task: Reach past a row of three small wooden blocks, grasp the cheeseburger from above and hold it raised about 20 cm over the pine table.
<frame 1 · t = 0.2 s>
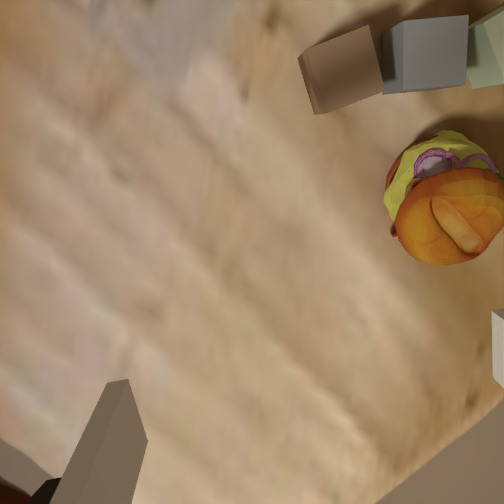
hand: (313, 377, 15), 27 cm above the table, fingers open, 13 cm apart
walnut block: (332, 76, 38), on the table
slate block: (409, 62, 38), on the table
sage block: (487, 47, 38), on the table
cheeseburger: (428, 191, 42), on the table
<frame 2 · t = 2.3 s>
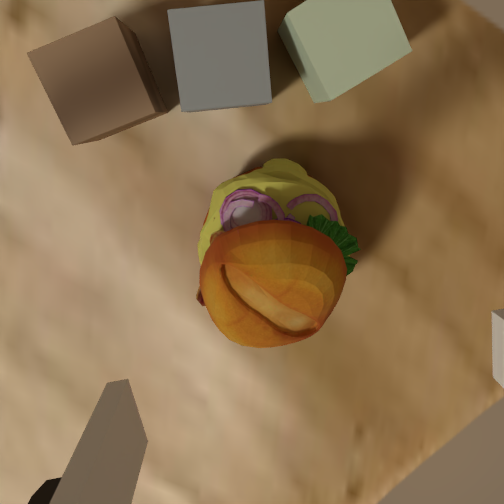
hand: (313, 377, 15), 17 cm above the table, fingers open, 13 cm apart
walnut block: (116, 88, 28), on the table
slate block: (222, 67, 27), on the table
sage block: (330, 46, 27), on the table
cheeseburger: (270, 237, 31), on the table
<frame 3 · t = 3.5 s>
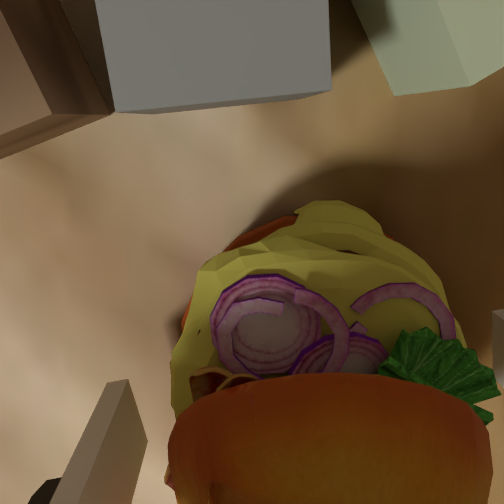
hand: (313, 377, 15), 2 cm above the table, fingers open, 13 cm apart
walnut block: (7, 67, 14), on the table
slate block: (217, 25, 14), on the table
cheeseburger: (303, 334, 18), on the table
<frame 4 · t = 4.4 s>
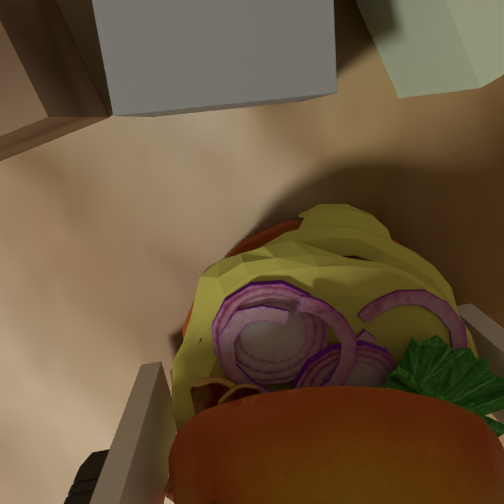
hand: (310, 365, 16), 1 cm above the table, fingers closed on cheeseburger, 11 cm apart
walnut block: (3, 69, 14), on the table
slate block: (218, 26, 14), on the table
cheeseburger: (307, 340, 17), on the table, touching gripper
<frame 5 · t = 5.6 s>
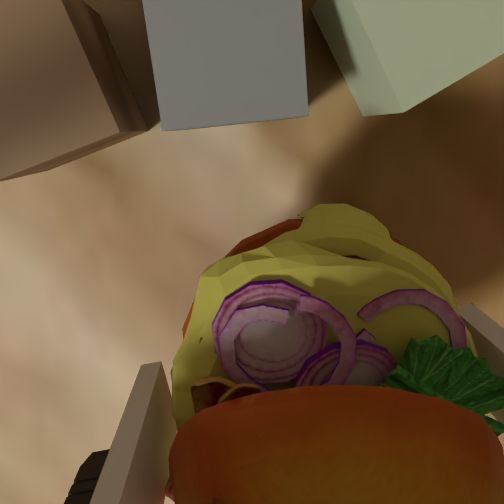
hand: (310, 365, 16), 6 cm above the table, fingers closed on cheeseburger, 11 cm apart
walnut block: (73, 95, 19), on the table
slate block: (229, 64, 19), on the table
sage block: (388, 33, 18), on the table
cheeseburger: (307, 340, 17), point 5 cm above the table, touching gripper
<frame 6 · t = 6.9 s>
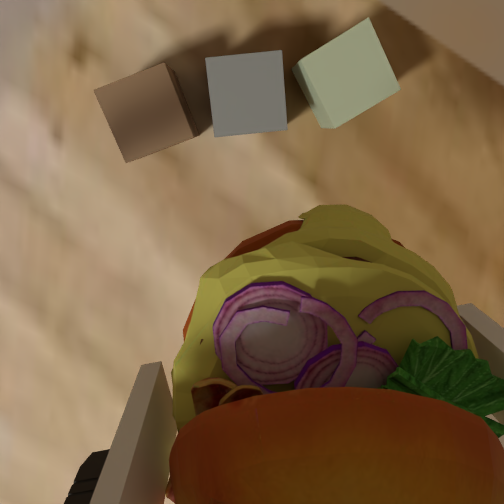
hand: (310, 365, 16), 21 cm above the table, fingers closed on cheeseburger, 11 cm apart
walnut block: (157, 115, 33), on the table
slate block: (245, 98, 33), on the table
sage block: (334, 81, 33), on the table
cheeseburger: (308, 341, 17), point 20 cm above the table, touching gripper
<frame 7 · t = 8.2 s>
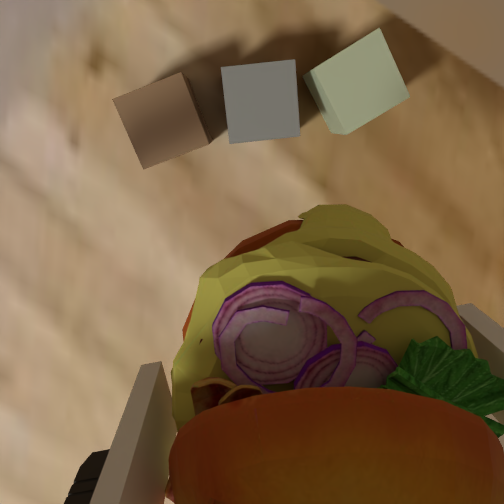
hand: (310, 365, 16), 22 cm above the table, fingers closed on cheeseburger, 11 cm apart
walnut block: (171, 122, 34), on the table
slate block: (257, 105, 34), on the table
sage block: (344, 88, 34), on the table
cheeseburger: (307, 341, 17), point 21 cm above the table, touching gripper
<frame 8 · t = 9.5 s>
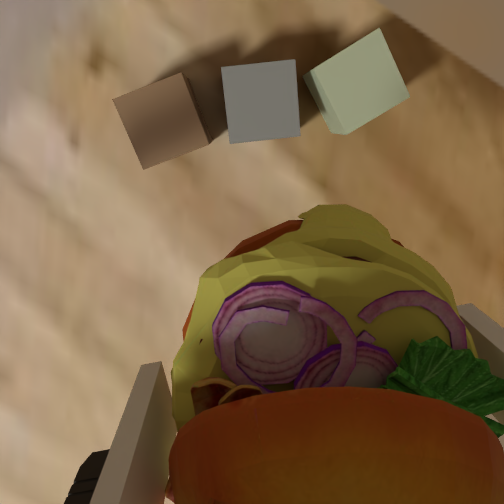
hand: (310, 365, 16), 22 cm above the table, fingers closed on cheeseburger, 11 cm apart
walnut block: (171, 122, 34), on the table
slate block: (257, 105, 34), on the table
sage block: (344, 88, 34), on the table
cheeseburger: (307, 341, 17), point 21 cm above the table, touching gripper
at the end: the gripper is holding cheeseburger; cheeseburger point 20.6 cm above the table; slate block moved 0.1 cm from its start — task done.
